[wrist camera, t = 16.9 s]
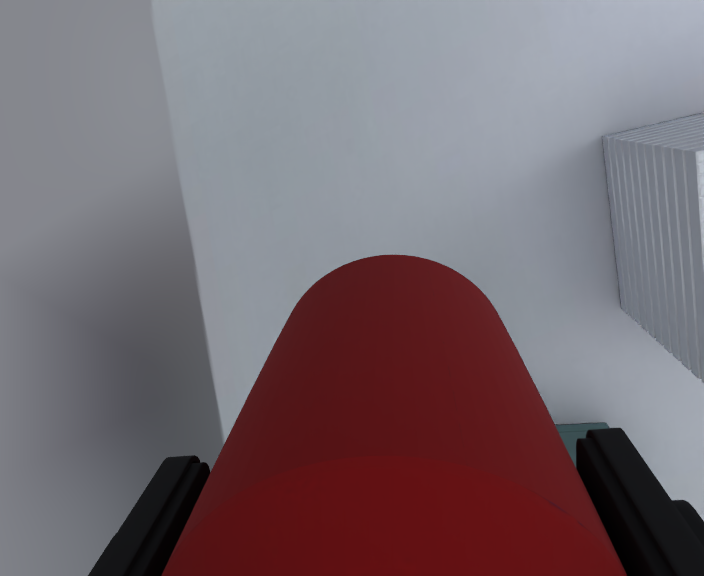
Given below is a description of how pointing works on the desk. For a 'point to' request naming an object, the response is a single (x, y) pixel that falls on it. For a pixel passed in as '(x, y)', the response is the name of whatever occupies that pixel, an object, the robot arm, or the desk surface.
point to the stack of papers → (661, 231)
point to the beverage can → (394, 446)
